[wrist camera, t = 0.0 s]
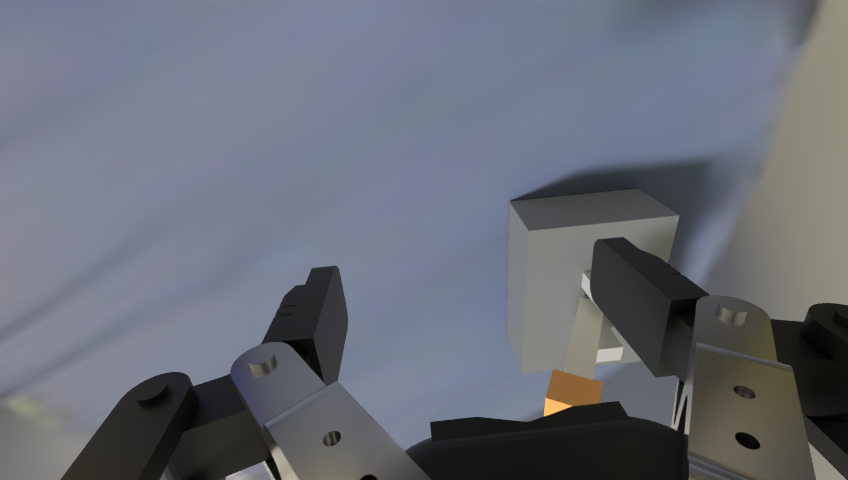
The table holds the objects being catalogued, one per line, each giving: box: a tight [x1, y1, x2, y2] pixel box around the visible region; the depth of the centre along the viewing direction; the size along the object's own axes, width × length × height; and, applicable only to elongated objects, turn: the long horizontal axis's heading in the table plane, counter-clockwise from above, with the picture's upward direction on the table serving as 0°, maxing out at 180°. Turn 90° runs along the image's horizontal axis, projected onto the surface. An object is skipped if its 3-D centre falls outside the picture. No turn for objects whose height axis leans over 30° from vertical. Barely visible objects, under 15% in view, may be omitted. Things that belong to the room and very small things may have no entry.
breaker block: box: [506, 188, 680, 374], centre depth 30 cm, size 13×10×8 cm
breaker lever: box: [544, 297, 603, 416], centre depth 24 cm, size 4×2×10 cm, turn 5°
